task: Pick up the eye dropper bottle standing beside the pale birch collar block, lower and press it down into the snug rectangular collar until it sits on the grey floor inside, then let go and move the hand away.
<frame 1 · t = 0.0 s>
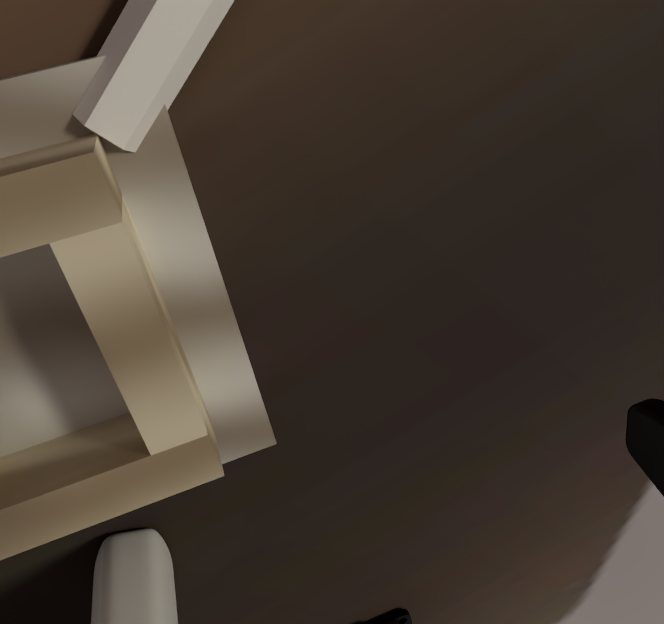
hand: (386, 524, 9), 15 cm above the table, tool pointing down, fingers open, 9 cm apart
eye dropper bottle: (134, 566, 27), on the table
collar block: (30, 331, 21), on the table
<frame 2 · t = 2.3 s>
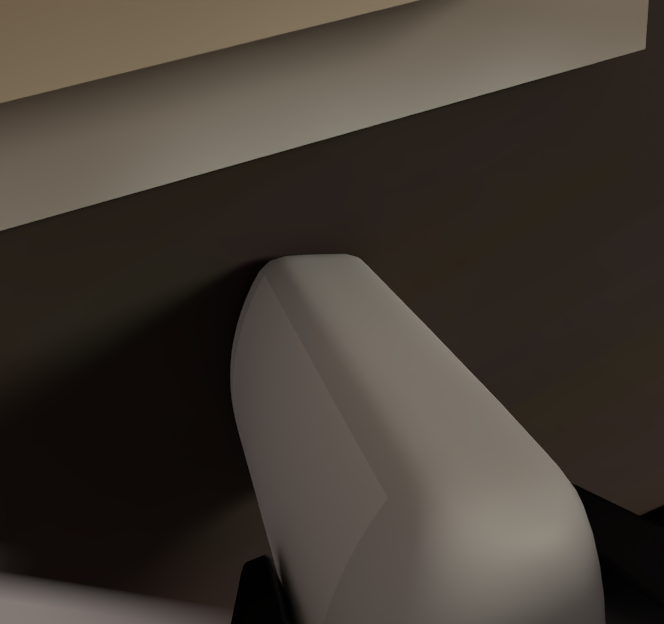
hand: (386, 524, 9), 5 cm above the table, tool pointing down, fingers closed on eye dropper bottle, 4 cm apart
eye dropper bottle: (300, 357, 14), on the table, touching gripper
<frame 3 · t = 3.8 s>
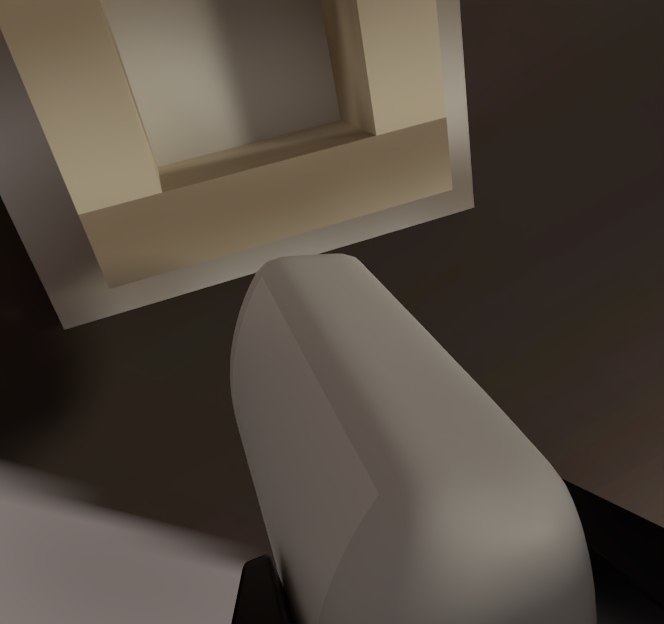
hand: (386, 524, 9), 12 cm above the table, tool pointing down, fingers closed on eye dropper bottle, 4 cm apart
eye dropper bottle: (299, 357, 14), point 7 cm above the table, touching gripper
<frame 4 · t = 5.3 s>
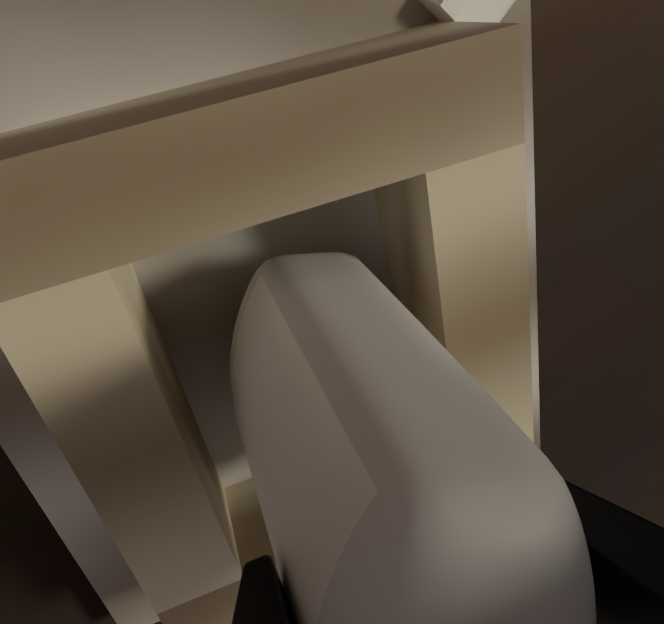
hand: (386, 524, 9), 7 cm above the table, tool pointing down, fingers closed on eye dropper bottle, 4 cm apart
eye dropper bottle: (299, 355, 14), point 2 cm above the table, touching gripper
collar block: (277, 315, 15), on the table
when the fingers open (6 cm above the table, at t = 6.6 s): eye dropper bottle stays where it is, resting on collar block.
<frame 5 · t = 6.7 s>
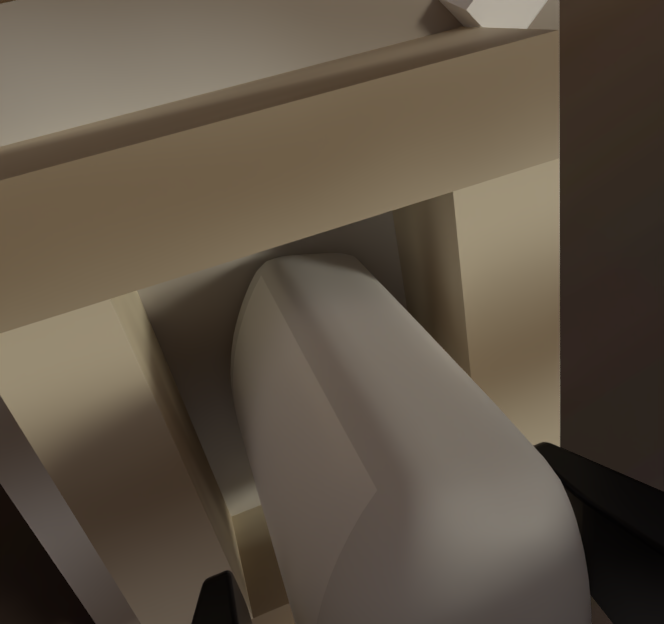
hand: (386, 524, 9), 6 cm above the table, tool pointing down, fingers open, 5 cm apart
eye dropper bottle: (299, 355, 14), point 1 cm above the table, touching collar block
collar block: (288, 335, 14), on the table
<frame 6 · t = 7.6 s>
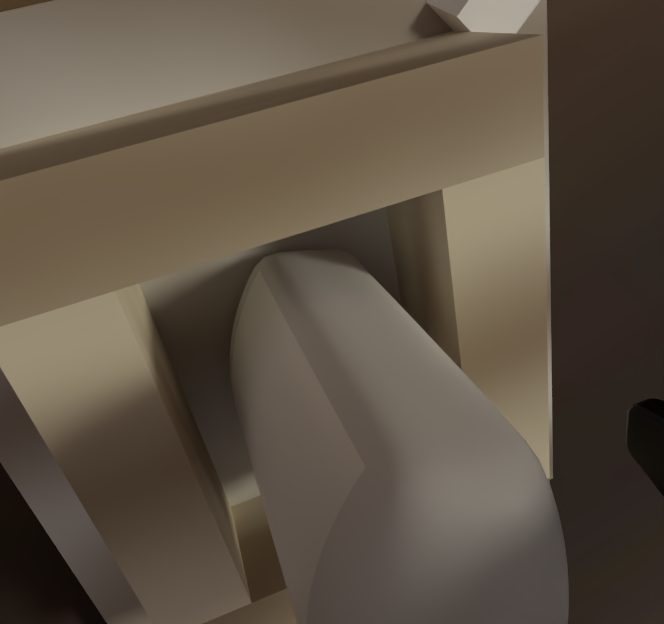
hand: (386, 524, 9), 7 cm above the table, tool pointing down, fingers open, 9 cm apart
eye dropper bottle: (296, 349, 14), point 1 cm above the table, touching collar block
collar block: (286, 330, 15), on the table
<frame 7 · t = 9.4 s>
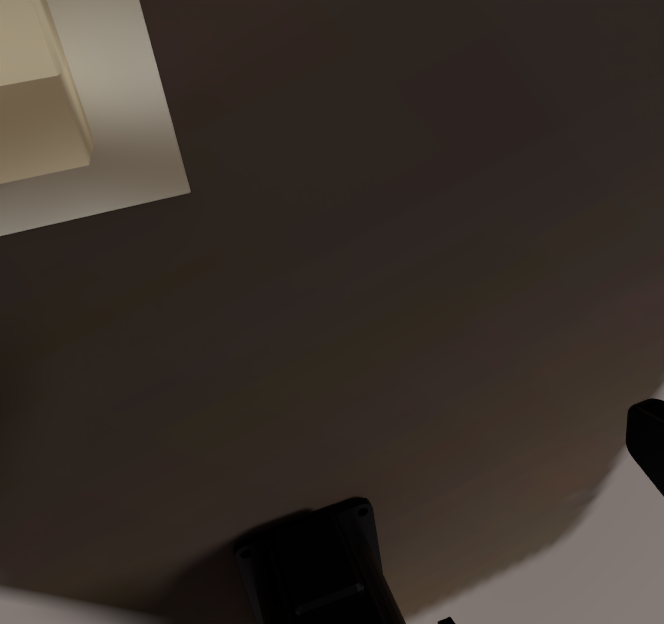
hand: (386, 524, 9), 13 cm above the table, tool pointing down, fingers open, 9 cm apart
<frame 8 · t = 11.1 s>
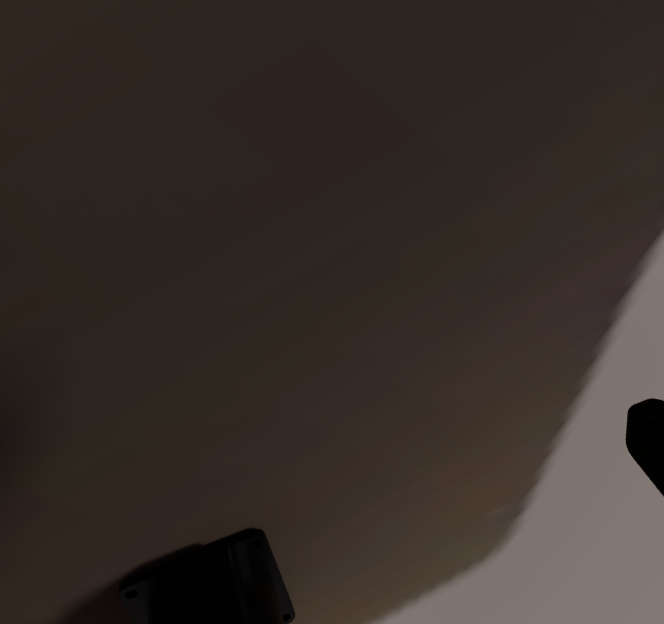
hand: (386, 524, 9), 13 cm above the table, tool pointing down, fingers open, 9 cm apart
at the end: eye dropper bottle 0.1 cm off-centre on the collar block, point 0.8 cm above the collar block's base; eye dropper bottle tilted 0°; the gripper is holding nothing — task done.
